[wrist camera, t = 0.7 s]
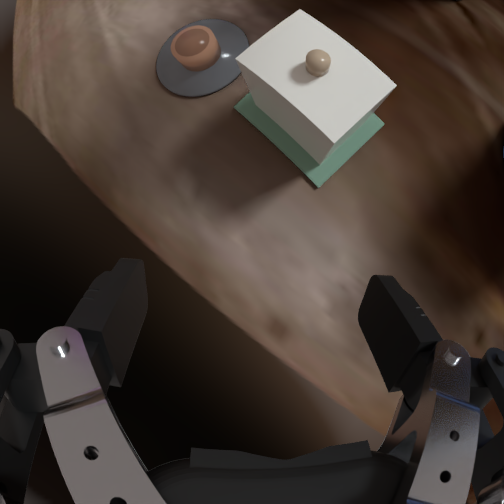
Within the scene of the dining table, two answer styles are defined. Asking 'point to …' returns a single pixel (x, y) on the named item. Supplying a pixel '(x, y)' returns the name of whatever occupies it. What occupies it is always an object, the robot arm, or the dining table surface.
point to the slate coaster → (208, 79)
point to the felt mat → (296, 152)
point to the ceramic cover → (312, 83)
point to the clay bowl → (196, 48)
